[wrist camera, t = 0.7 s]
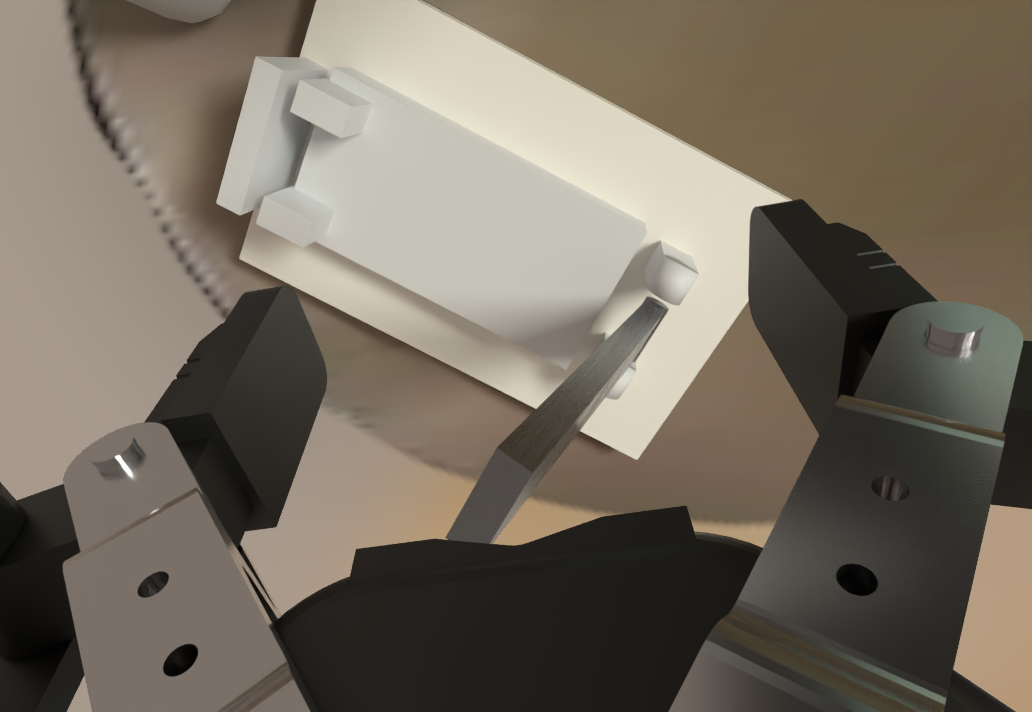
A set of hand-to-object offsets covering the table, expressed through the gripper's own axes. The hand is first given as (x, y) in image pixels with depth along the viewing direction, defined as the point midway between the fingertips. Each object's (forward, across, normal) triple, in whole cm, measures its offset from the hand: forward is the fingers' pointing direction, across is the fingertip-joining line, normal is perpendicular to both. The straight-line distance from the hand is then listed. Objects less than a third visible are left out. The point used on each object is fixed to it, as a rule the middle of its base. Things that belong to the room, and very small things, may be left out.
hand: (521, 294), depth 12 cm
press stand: (+23, +2, +9) cm, 25 cm away
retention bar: (+9, -1, +9) cm, 13 cm away
